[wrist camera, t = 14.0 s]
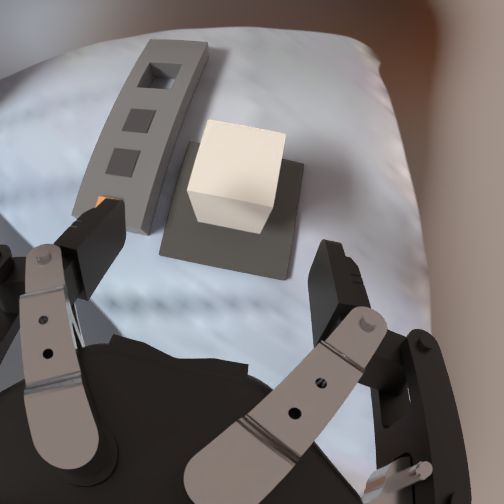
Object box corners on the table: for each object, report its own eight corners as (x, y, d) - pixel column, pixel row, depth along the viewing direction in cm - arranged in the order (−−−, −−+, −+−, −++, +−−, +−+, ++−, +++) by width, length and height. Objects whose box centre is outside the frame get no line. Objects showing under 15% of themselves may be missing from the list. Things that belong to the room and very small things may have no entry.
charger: (199, 227, 26) (186, 190, 17) (212, 174, 26) (207, 119, 18) (257, 239, 26) (273, 207, 17) (267, 185, 27) (285, 134, 18)
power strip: (83, 222, 25) (69, 213, 22) (153, 53, 29) (149, 37, 26) (148, 235, 26) (139, 227, 23) (208, 57, 29) (207, 39, 26)
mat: (160, 255, 25) (158, 254, 25) (190, 144, 27) (189, 141, 27) (284, 280, 26) (285, 280, 25) (302, 166, 28) (303, 163, 27)
